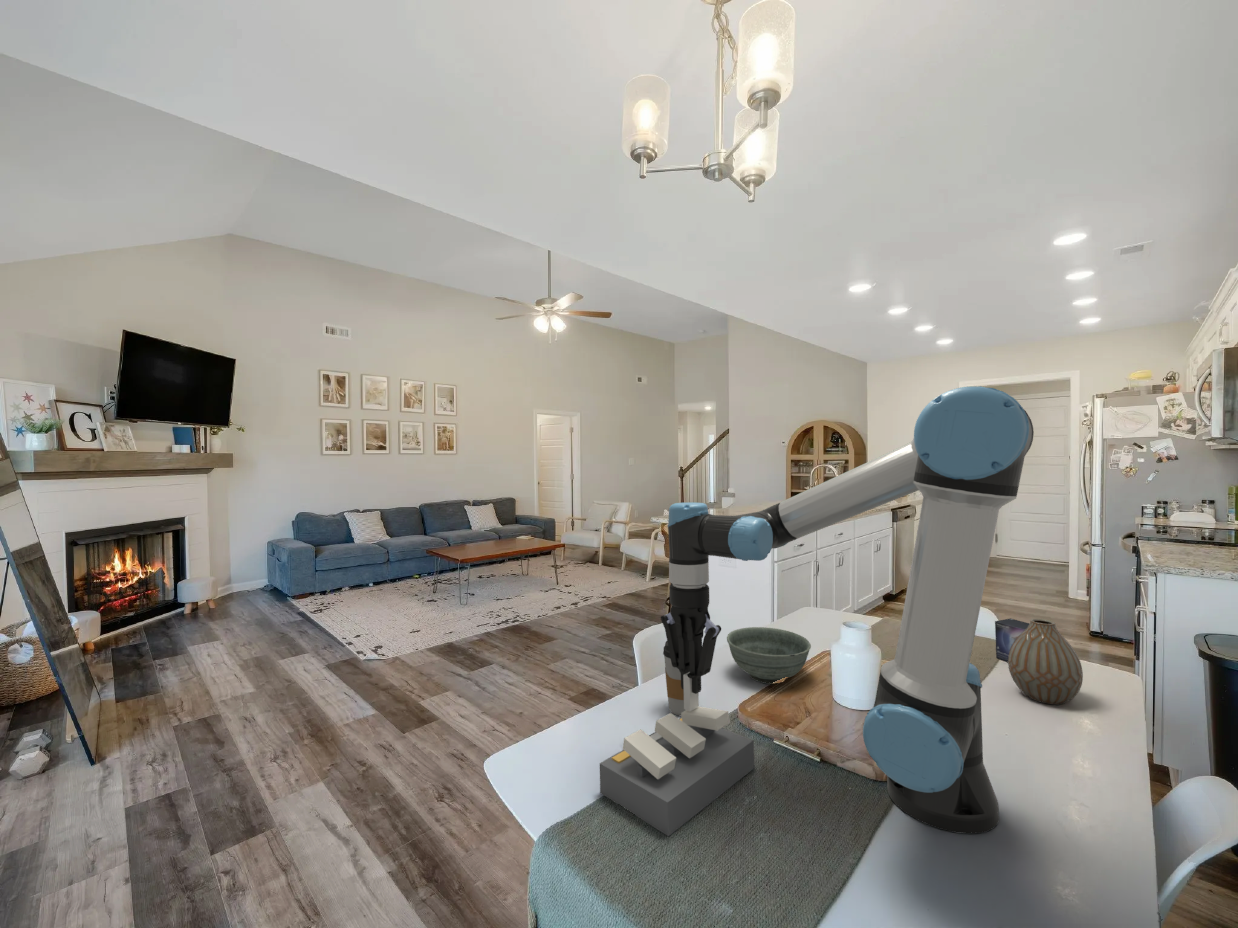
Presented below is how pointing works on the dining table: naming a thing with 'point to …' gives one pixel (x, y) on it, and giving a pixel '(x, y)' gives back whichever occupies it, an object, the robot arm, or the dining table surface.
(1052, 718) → the dining table surface
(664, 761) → the rocker
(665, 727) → the rocker
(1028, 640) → the vase
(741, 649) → the bowl
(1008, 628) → the small box
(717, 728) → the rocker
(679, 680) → the coffee cup
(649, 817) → the switch unit
